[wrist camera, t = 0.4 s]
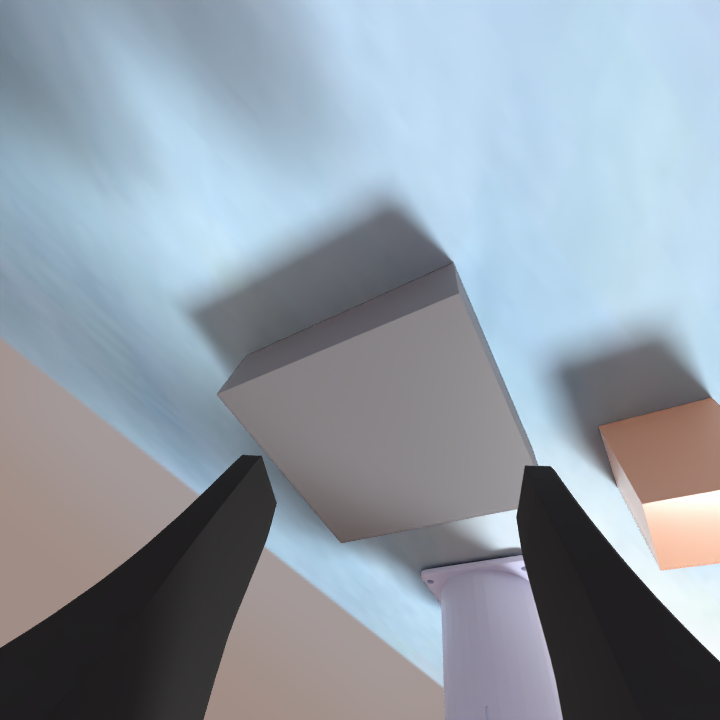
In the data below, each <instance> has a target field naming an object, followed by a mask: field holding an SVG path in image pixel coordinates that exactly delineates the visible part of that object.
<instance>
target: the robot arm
mask: <svg viewBox="0 0 720 720" xmlns="http://www.w3.org/2000/svg"><path fill="white" fill-rule="evenodd" d="M276 504H277V503H276V500H275V496H274V493H273V490H272V487H271V484H270V481H269V478H268V474H267V471H266V468H265V465H264V462H263V459H262V456H252V455H242V456H241V457H240V458H239V459H238V460H236V461H235V462H234V463H233V464H232V465H231V466H230V467H229V468H228V469H227V470H226V471H225V472H224V473H223V474H222V475H221V476H220V477H219V478H218V479H217V480H216V481H215V482H214V483H213V484H212V485H211V486H210V487H209V488H208V489H207V490H206V491H205V492H204V493H203V494H202V495H200V496H199V497H198V498H197V499H196V500H195V501H194V502H193V503H192V504H191V505H190V506H189V507H188V508H187V509H186V510H185V511H184V512H183V513H181V515H179V516H178V517H177V518H176V519H175V520H174V521H173V522H171V523H170V524H169V525H168V526H167V527H166V528H165V529H163V530H162V531H161V532H160V533H159V534H158V535H157V536H156V537H154V538H153V539H152V540H151V541H150V542H149V543H148V544H147V545H145V546H144V547H143V548H142V549H140V550H139V551H138V552H137V553H136V554H134V555H133V556H132V557H131V558H130V559H128V560H127V561H126V562H124V563H123V564H122V565H121V566H119V567H118V568H117V569H115V570H114V571H113V572H112V573H110V574H109V575H108V576H106V577H105V578H104V579H102V580H101V581H100V582H98V583H97V584H96V585H94V586H93V587H91V588H90V589H88V590H87V591H86V592H84V593H83V594H81V595H80V596H78V597H77V598H76V599H74V600H73V601H71V602H70V603H68V604H67V605H66V606H64V607H63V608H61V609H60V610H58V611H57V612H56V613H54V614H53V615H51V616H50V617H48V618H47V619H45V620H44V621H42V622H41V623H39V624H38V625H36V626H34V627H33V628H31V629H30V630H28V631H27V632H25V633H23V634H22V635H20V636H19V637H17V638H15V639H14V640H12V641H11V642H9V643H7V644H6V645H4V646H3V647H1V648H0V720H203V719H204V716H205V712H206V709H207V705H208V702H209V698H210V695H211V691H212V688H213V684H214V681H215V677H216V674H217V671H218V668H219V665H220V661H221V658H222V655H223V651H224V648H225V645H226V641H227V639H228V636H229V633H230V630H231V628H232V625H233V622H234V619H235V617H236V614H237V612H238V609H239V607H240V604H241V602H242V599H243V597H244V595H245V592H246V590H247V587H248V585H249V582H250V579H251V577H252V575H253V573H254V570H255V567H256V565H257V563H258V560H259V557H260V555H261V553H262V550H263V548H264V545H265V542H266V540H267V537H268V533H269V530H270V526H271V523H272V519H273V515H274V511H275V507H276ZM516 518H517V524H518V531H519V537H520V543H521V549H522V555H518V556H511V557H505V558H498V559H492V560H485V561H478V562H472V563H465V564H459V565H452V566H446V567H439V568H432V569H426V570H423V571H422V572H421V578H422V579H423V581H424V582H425V584H426V585H427V586H428V588H429V589H430V590H431V592H432V593H433V594H434V596H435V597H436V598H437V600H438V601H439V602H440V604H441V609H442V642H443V675H444V708H445V720H720V661H719V660H718V659H717V658H716V657H715V656H714V655H712V654H711V653H710V652H709V651H708V650H707V649H706V648H705V647H704V646H703V645H702V644H701V643H700V642H699V641H698V640H697V639H696V638H695V637H694V636H693V635H692V634H691V633H690V632H689V631H688V630H687V629H686V628H685V627H684V626H683V625H682V624H681V622H680V621H679V620H678V619H677V618H676V617H675V616H674V615H673V614H672V613H671V612H670V611H669V610H668V609H667V608H666V607H665V606H664V605H663V604H662V603H661V601H660V600H659V599H658V598H657V597H656V596H655V595H654V594H653V593H652V592H651V591H650V589H649V588H648V587H647V586H646V585H645V584H644V583H643V582H642V580H641V579H640V578H639V577H638V576H637V575H636V574H635V573H634V571H633V570H632V569H631V568H630V567H629V566H628V565H627V563H626V562H625V561H624V560H623V559H622V558H621V556H620V555H619V554H618V553H617V552H616V550H615V549H614V548H613V547H612V545H611V544H610V543H609V542H608V541H607V539H606V538H605V537H604V536H603V534H602V533H601V532H600V531H599V530H598V528H597V527H596V526H595V524H594V523H593V522H592V521H591V519H590V518H589V517H588V516H587V514H586V513H585V512H584V510H583V509H582V508H581V506H580V505H579V504H578V502H577V501H576V500H575V498H574V497H573V496H572V494H571V493H570V491H569V490H568V489H567V487H566V486H565V485H564V483H563V482H562V480H561V479H560V477H559V476H558V475H557V473H556V472H555V470H554V469H553V468H552V467H551V466H526V465H525V468H524V474H523V480H522V486H521V492H520V499H519V505H518V511H517V517H516Z"/></svg>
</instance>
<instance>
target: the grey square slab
mask: <svg viewBox="0 0 720 720" xmlns="http://www.w3.org/2000/svg"><path fill="white" fill-rule="evenodd" d="M217 395H218V397H219V398H220V399H221V400H222V401H223V403H224V404H225V405H226V406H227V407H228V409H229V410H230V411H231V412H232V413H233V415H234V416H235V417H236V418H237V419H238V421H239V422H240V423H241V424H242V425H243V427H244V428H245V429H246V430H247V431H248V432H249V434H250V435H251V436H252V437H253V438H254V440H255V441H256V442H257V443H258V444H259V446H260V447H261V448H262V449H263V450H264V452H265V453H266V454H267V455H268V456H269V458H270V459H271V460H272V461H273V462H274V464H275V465H276V466H277V467H278V468H279V470H280V471H281V472H282V473H283V474H284V476H285V477H286V478H287V479H288V480H289V482H290V483H291V484H292V485H293V486H294V487H295V489H296V490H297V491H298V492H299V493H300V495H301V496H302V497H303V498H304V499H305V501H306V502H307V503H308V504H309V505H310V507H311V508H312V509H313V510H314V511H315V513H316V514H317V515H318V516H319V517H320V519H321V520H322V521H323V522H324V523H325V525H326V526H327V527H328V528H329V529H330V531H331V532H332V533H333V534H334V535H335V537H336V538H337V539H338V540H339V541H340V542H341V543H345V542H350V541H355V540H360V539H365V538H370V537H375V536H381V535H386V534H391V533H396V532H401V531H406V530H412V529H417V528H422V527H427V526H432V525H437V524H442V523H448V522H453V521H458V520H463V519H468V518H473V517H479V516H484V515H489V514H494V513H499V512H504V511H509V510H515V509H518V505H519V499H520V492H521V486H522V480H523V474H524V468H525V465H526V466H538V464H537V461H536V458H535V455H534V451H533V449H532V446H531V444H530V442H529V439H528V437H527V434H526V432H525V430H524V427H523V425H522V423H521V420H520V418H519V416H518V413H517V411H516V409H515V406H514V404H513V401H512V399H511V397H510V394H509V392H508V390H507V387H506V385H505V383H504V380H503V378H502V376H501V373H500V371H499V368H498V366H497V364H496V361H495V359H494V357H493V354H492V352H491V350H490V347H489V345H488V343H487V340H486V338H485V335H484V333H483V331H482V328H481V326H480V324H479V321H478V319H477V317H476V314H475V312H474V310H473V307H472V305H471V302H470V300H469V298H468V295H467V293H466V291H465V288H464V286H463V284H462V281H461V279H460V277H459V274H458V272H457V269H456V267H455V265H454V262H453V263H451V264H449V265H447V266H444V267H442V268H440V269H438V270H436V271H433V272H431V273H429V274H427V275H424V276H422V277H420V278H418V279H416V280H413V281H411V282H409V283H407V284H404V285H402V286H400V287H398V288H396V289H393V290H391V291H389V292H387V293H384V294H382V295H380V296H378V297H376V298H373V299H371V300H369V301H367V302H365V303H362V304H360V305H358V306H356V307H353V308H351V309H349V310H347V311H345V312H342V313H340V314H338V315H336V316H333V317H331V318H329V319H327V320H325V321H322V322H320V323H318V324H316V325H313V326H311V327H309V328H307V329H305V330H302V331H300V332H298V333H296V334H293V335H291V336H289V337H287V338H285V339H282V340H280V341H278V342H276V343H274V344H271V345H269V346H267V347H265V348H262V349H260V350H258V351H256V352H254V353H251V354H249V355H247V356H246V357H245V358H244V360H243V361H242V362H241V363H240V365H239V366H238V367H237V369H236V370H235V371H234V372H233V374H232V375H231V376H230V378H229V379H228V380H227V382H226V383H225V384H224V385H223V387H222V388H221V389H220V391H219V392H218V393H217Z"/></svg>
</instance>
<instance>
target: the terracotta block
mask: <svg viewBox="0 0 720 720" xmlns="http://www.w3.org/2000/svg"><path fill="white" fill-rule="evenodd" d="M598 427H599V430H600V433H601V436H602V439H603V443H604V446H605V449H606V452H607V455H608V459H609V462H610V465H611V468H612V471H613V475H614V478H615V481H616V484H617V487H618V489H619V491H620V493H621V495H622V497H623V499H624V501H625V503H626V505H627V507H628V509H629V510H630V512H631V514H632V516H633V518H634V520H635V522H636V524H637V526H638V528H639V530H640V532H641V534H642V536H643V537H644V539H645V541H646V543H647V545H648V547H649V549H650V551H651V553H652V555H653V557H654V559H655V561H656V562H657V564H658V566H659V568H660V570H668V569H677V568H685V567H693V566H701V565H709V564H718V563H720V405H719V404H718V403H717V402H716V401H715V400H714V399H713V398H708V399H704V400H700V401H696V402H692V403H688V404H684V405H680V406H676V407H672V408H668V409H664V410H660V411H656V412H652V413H648V414H644V415H640V416H636V417H633V418H629V419H625V420H621V421H617V422H613V423H609V424H605V425H601V426H598Z"/></svg>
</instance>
